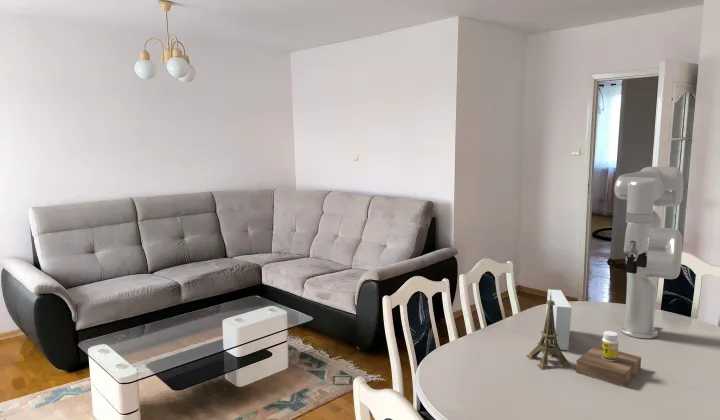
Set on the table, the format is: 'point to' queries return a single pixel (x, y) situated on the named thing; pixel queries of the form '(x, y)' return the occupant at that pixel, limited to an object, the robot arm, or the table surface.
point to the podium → (608, 366)
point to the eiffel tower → (548, 342)
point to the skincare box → (561, 317)
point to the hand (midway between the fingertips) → (636, 269)
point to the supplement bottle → (609, 346)
